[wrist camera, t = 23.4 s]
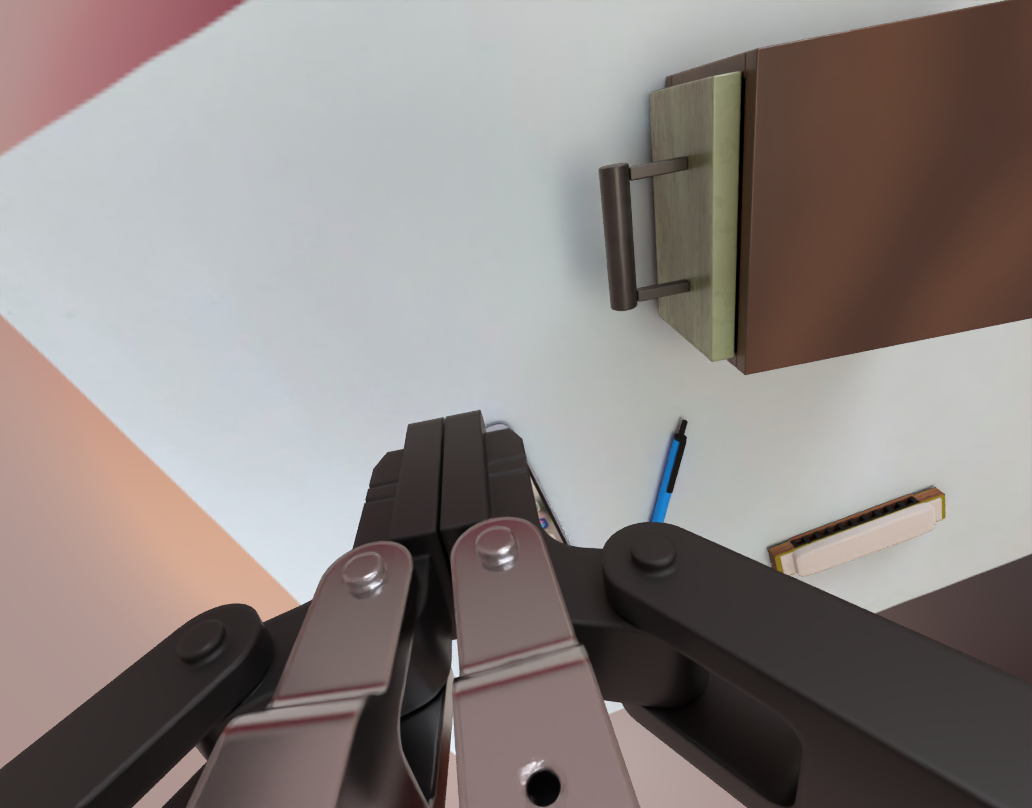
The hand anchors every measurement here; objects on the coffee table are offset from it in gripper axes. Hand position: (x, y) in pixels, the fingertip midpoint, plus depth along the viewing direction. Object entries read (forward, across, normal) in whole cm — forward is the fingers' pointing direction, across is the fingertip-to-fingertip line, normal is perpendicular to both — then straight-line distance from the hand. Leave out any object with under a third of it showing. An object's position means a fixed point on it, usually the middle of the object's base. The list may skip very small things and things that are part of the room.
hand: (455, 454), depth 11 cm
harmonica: (+23, -28, +29) cm, 47 cm away
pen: (+23, -11, +24) cm, 35 cm away
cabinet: (+23, -21, 0) cm, 31 cm away
